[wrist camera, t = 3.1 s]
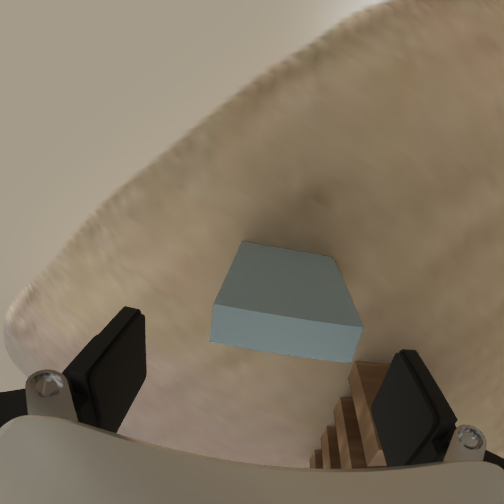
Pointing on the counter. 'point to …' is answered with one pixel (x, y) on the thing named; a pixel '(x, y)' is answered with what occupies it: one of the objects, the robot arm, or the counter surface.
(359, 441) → the domino
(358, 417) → the domino
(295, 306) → the domino
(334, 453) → the domino
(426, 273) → the counter surface
